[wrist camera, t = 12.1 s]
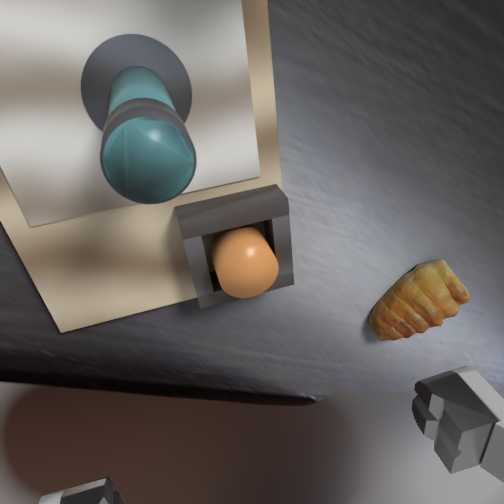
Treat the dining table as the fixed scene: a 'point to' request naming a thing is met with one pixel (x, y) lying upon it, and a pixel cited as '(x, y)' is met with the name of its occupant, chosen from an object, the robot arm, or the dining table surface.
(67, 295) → the beige board with holder
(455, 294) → the pastry
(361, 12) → the dining table surface
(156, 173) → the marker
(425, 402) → the robot arm
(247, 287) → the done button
